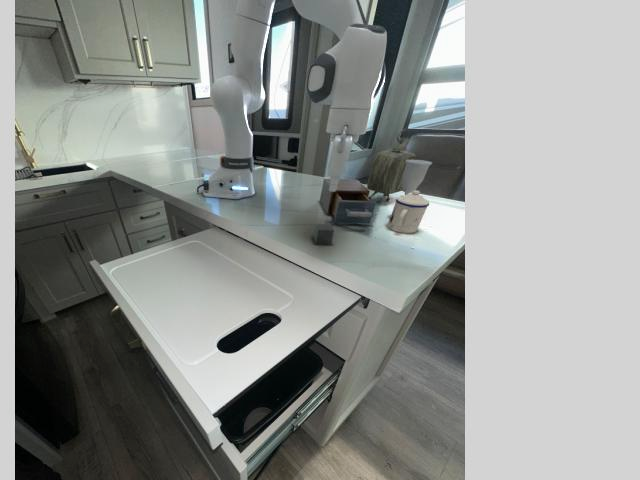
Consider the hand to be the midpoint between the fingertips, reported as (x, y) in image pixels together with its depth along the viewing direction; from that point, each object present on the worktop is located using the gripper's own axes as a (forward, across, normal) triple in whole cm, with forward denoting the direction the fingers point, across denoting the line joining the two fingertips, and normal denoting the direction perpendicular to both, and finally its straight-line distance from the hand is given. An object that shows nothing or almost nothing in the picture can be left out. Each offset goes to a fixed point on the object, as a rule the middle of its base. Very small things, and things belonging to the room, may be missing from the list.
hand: (333, 187), depth 69 cm
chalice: (+15, +29, -23) cm, 40 cm away
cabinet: (+15, +32, -3) cm, 36 cm away
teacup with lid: (+15, +18, -23) cm, 33 cm away
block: (+15, 0, 0) cm, 15 cm away
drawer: (+14, +21, -6) cm, 26 cm away
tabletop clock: (+15, +48, -19) cm, 54 cm away
